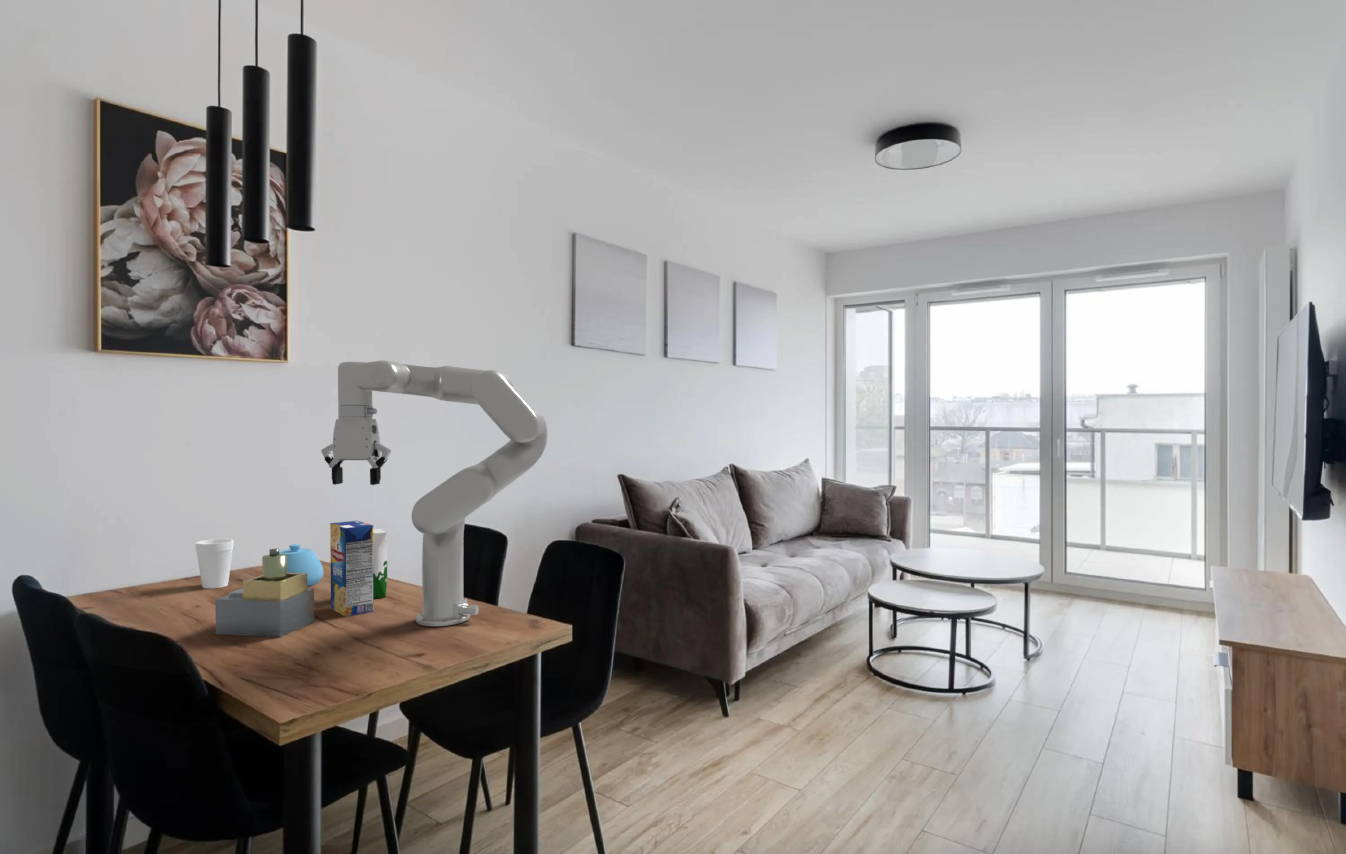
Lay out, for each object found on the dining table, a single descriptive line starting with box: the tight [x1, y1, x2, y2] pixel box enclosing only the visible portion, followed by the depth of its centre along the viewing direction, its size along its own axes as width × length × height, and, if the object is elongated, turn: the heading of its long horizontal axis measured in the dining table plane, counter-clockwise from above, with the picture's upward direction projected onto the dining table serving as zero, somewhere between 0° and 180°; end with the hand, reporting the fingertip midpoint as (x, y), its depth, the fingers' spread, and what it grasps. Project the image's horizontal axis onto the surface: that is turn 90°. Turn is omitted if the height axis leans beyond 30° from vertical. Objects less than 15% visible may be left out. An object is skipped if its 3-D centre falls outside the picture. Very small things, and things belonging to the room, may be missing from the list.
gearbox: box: [214, 573, 315, 638], centre depth 166 cm, size 16×12×12 cm
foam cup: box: [195, 538, 235, 589], centre depth 207 cm, size 10×9×13 cm
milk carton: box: [373, 528, 388, 600], centre depth 195 cm, size 9×9×20 cm
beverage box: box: [329, 520, 375, 618], centre depth 182 cm, size 7×11×22 cm, turn 43°
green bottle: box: [261, 548, 287, 581], centre depth 166 cm, size 5×5×10 cm
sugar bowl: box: [279, 543, 324, 587], centre depth 210 cm, size 15×15×12 cm
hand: (356, 484), depth 171 cm, fingers open, 9 cm apart
